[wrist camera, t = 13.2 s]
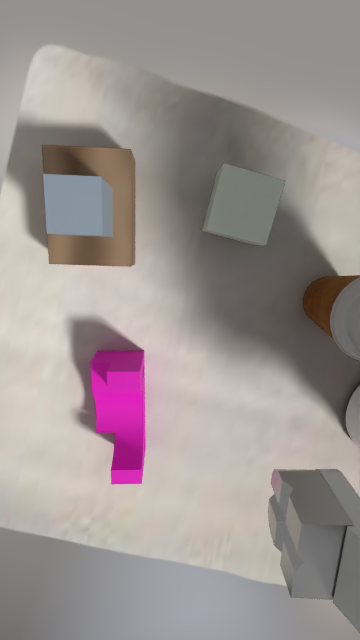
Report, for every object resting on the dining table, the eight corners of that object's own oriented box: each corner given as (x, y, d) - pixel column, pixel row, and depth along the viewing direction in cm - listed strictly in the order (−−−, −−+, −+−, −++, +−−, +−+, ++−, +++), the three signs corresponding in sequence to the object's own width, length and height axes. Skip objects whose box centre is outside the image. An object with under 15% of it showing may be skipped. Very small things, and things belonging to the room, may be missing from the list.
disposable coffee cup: (290, 267, 42) (339, 277, 30) (362, 260, 42) (438, 267, 30) (291, 337, 44) (336, 371, 32) (359, 330, 44) (428, 361, 32)
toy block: (98, 350, 43) (84, 371, 36) (144, 350, 44) (139, 371, 36) (102, 447, 47) (91, 484, 40) (145, 446, 47) (141, 483, 40)
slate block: (112, 188, 34) (101, 176, 28) (113, 236, 35) (102, 235, 29) (64, 186, 33) (42, 173, 28) (66, 235, 35) (46, 233, 29)
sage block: (270, 188, 39) (285, 180, 34) (254, 245, 41) (266, 245, 36) (216, 173, 39) (223, 163, 34) (201, 231, 40) (206, 229, 35)
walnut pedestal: (135, 161, 38) (130, 149, 33) (135, 263, 41) (130, 266, 36) (58, 157, 37) (41, 144, 32) (63, 261, 40) (49, 263, 35)
